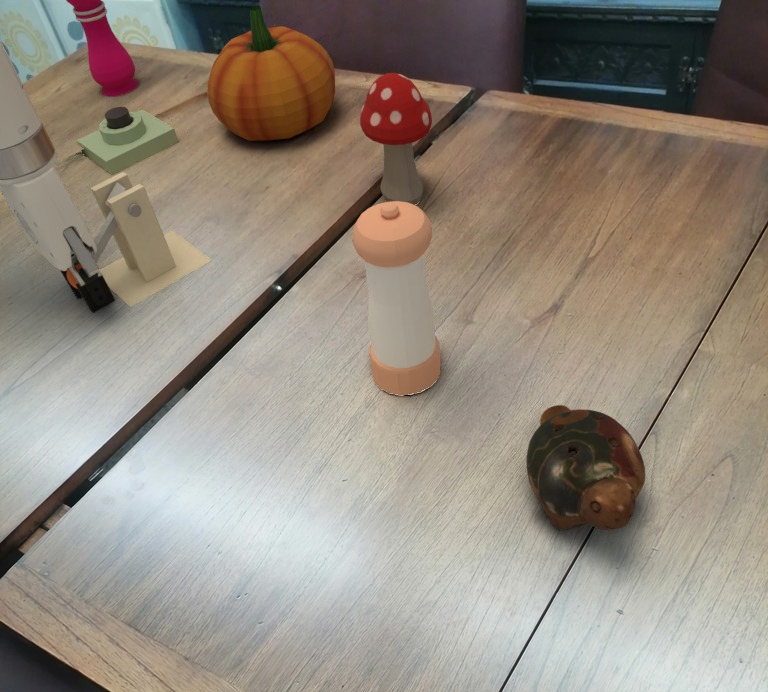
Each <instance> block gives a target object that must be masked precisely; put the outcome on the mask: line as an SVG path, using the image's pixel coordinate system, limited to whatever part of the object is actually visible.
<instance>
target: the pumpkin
mask: <svg viewBox="0 0 768 692" xmlns="http://www.w3.org/2000/svg"><path fill="white" fill-rule="evenodd" d="M249 15H250V17H249V18H250V30H249V31H246V32H245V33H242V34H240V35H237V36H235V37H233V38H231V39H230V40H229V41H228V42H227V43H226V44H225V45H224V47H223V48H222V50H221V51H220V52H219V54H218V55H217V57H216V58H215V60H214V61H213V64H212V67H211V69H210V72H209V73H210V74H209V76H208V80H207V90H206V91H207V92H206V94H207V99H208V100H207V101H208V104H209V106H210V108H211V111H212V113H213V115H214V116H215V117H216V118H217V120H218V121H219V122H220V123H221V124H223V126H224V127H226V128H227V129H228V130H229V131H230V132H231V133H233V134H234V135H236V136H238V137H240V138H242V139H244V140H247V141H250V142H251V141H274V140H284V139H290V138H293V137H295V136H298V135H301V134H302V133H304V132H306V131H309V130H310V129H312V128H314V127H316V126H317V125H319V124H321V123H322V122H324V120H325V118H326V116H327V115H328V112H329V110H330V108H331V107H332V104H333V102H334V99H335V95H336V70H335V67H334V63H333V60H332V58H331V56H330V54H329V53H328V51H327V50H326V49H325V48H324V47H323V46H322V45H321V43H319V42H317V41H316V40H314V39H313V38H311V36H308V35H306V34H304V33H302V32H300V31H297V30H295V29H292V28H289V27H286V26H285V25H284V26H283V25H280V26H272V27H268V26H267V24H266V23H265V19H264V15H263V11H262V7H261V6H260V5H254V6H252V7H250V8H249Z"/></svg>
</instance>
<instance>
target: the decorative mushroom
mask: <svg viewBox="0 0 768 692" xmlns="http://www.w3.org/2000/svg"><path fill="white" fill-rule="evenodd" d="M432 123H433V118H432V113H431V109H430V105H429V104H428V102H427V101H426V100H425V99H424V98H423V96H422V94H421V92H420V91H419V88H418V87H417V86H416V85H415V84H414V82H413V81H412V80H411V79H410V78H408V77H407V76H406V75H403V74H401V73H398V72H397V73H396V72H388V73H384V74H383V75H382V74H381V75H380V76H378V77H377V78H376V79H375V80H374V81H373V82H372V83H371V85H370V87H369V89H368V91H367V94H366V98H365V101H364V103H363V105H362V107H361V108H360V117H359V126H360V128H361V130H362V133H363V134H364V135H365V136H366V137H367V138H368V139H370V140H371V141H373V142H375V143H378V144H381V145H383V174H382V179H381V182H380V187H379V188H380V192H381V194H382V196H383V199H384V201H385V200H386V201H385V202H392V201H400V202H408V203H410V204H413V205H415V204H417V203H418V202H419V201H420V200H422V198H423V193H424V185H423V183H422V180H421V178H420V176H419V173H418V170H417V165H416V160H415V156H414V148H413V143H415V142H418V141H420V140H422V139H423V138H425V137H426V136H427V135H428V134H429V133H430V130H431V128H432ZM420 202H421V201H420Z"/></svg>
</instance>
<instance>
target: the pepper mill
mask: <svg viewBox="0 0 768 692" xmlns="http://www.w3.org/2000/svg"><path fill="white" fill-rule="evenodd" d="M65 1H66V2H67V3H68V4H69V5H71V6H72V7H73V8H72V12H73V14H74V16H75V20H76V21H78V22H80V23H79V24H80V25H81V27H82V29H83V32H84V35H85V38H86V44H87V58H88V61H87V62H88V67H89V71H90V74H91V77H92V79H93V81H94V82H95V83H97V84H98V85H99V86H101V87H102V88H101V93H102V95H104V96H107V97H119V96H123V95H126V94H128V93H130V92H132V91H133V90H135V89H136V88H137V87H138V84H139V82H138V80H137V79H135V78H134V77H135V73H136V66H135V62H134V61H133V58H132V57H131V55H130V54H129V52H128V51H127V49H126V48H125V47H124V45H123V44H122V43H121V42H120V40H119V39H118V38H117V36H116V35H115V33H114V32H113V29H112V28H111V27H112V26H111V25H110V23H109V20H108V16H107V13H108V9H107V8H106V6H105V5H106V4H105V2H104V1H103V0H65Z"/></svg>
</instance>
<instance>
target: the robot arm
mask: <svg viewBox="0 0 768 692" xmlns="http://www.w3.org/2000/svg"><path fill="white" fill-rule="evenodd" d="M58 157H59V156H58V152H57V149H56V147H55V146H54V143H53V142H52V140H51V137H50V136H49V134H48V132H47V130H46V128H45V125H44V123H43V122H42V120H41V118H40V115H39V114H38V112H37V110H36V108H35V106H34V103H33V102H32V100H31V97H30V96H29V94H28V92H27V90H26V88H25V86H24V84H23V82H22V80H21V78H20V75H19V74H18V71H17V70H16V67H15V66H14V64H13V61H12V60H11V57H10V56H9V53H8V52H7V50H6V48H5V45H4V43H3V42H2V40H1V39H0V192H1V194H2V196H3V198H4V200H5V201H6V203H7V205H8V207H9V209H10V211H11V212H12V215H13V216H14V218H15V220H16V222H17V223H18V225H19V227H20V229H21V231H22V232H23V234H24V236H25V238H26V239H27V241H28V243H29V244H30V245H31V246H32V247H33V248H34V249H35V250H36V251H37V253H39V254H40V255H41V256H42V257H43V258H44V259H45V260H46V261H47V262H49V263H50V264H51V265H52V266H53V267H54V268H56V269H57V270H59V271H60V273H61V274H62V276H63V278H64V280H65V281H66V283H67V285H68V287H69V288H70V290H71V292H72V294H73V295H74V297H75V298H76V299H78V300H79V299H83V301H84V302H85V304H86V306H87V308H88V310H89V311H90V312H91V313H93V314H94V313H96V312H98V311H100V310H101V309H103V308H105V307H107V306H109V305H110V304H112V303H113V302H115V300H116V299H115V296H114V295H113V291H112V290H111V289H109V287H108V285H107V283H106V281H105V279H104V277H103V275H102V273H101V272H100V268H99V267H98V265H97V263H95V261H94V259H93V257H92V256H91V254H90V252H91V253H92V254H94V255H95V254H96V252H97V247H96V244H95V242H94V239H95V238H93V235H92V233H91V231H90V229H89V227H88V225H87V223H86V221H85V220H84V218H83V216H82V214H81V212H80V210H79V208H78V206H77V205H76V202H75V201H74V199H73V197H72V195H71V193H70V192H69V190H68V188H67V185H66V183H64V180H63V179H62V178H61V176H60V175H59V172H58V171H57V168H55V163H56V162H57V160H58ZM89 251H90V252H89ZM79 263H80V264H81V265H82V268H80V269H79V272H78V270H77V268H76V267H75V265H77V264H79ZM68 268H69V269H70V271H71V272H72V274H73V276H74V278H75V279H76V281H77V282H78V283H77V284H76V286H77V288H78V289H77V288H75V287H73V286H72V285H71V284H70V283H69V281H68V279H67V269H68Z"/></svg>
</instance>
